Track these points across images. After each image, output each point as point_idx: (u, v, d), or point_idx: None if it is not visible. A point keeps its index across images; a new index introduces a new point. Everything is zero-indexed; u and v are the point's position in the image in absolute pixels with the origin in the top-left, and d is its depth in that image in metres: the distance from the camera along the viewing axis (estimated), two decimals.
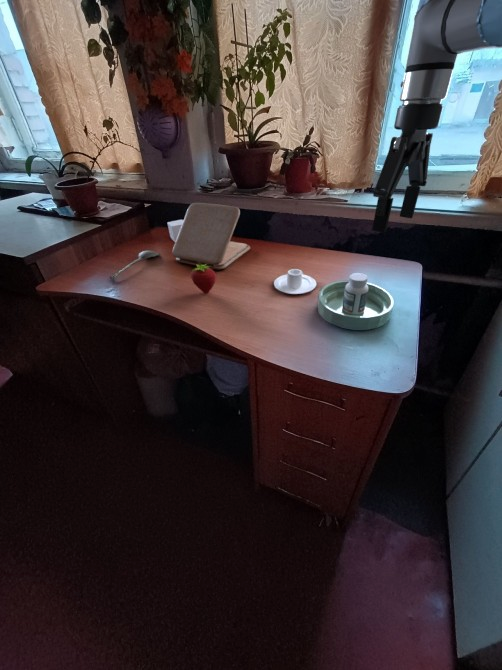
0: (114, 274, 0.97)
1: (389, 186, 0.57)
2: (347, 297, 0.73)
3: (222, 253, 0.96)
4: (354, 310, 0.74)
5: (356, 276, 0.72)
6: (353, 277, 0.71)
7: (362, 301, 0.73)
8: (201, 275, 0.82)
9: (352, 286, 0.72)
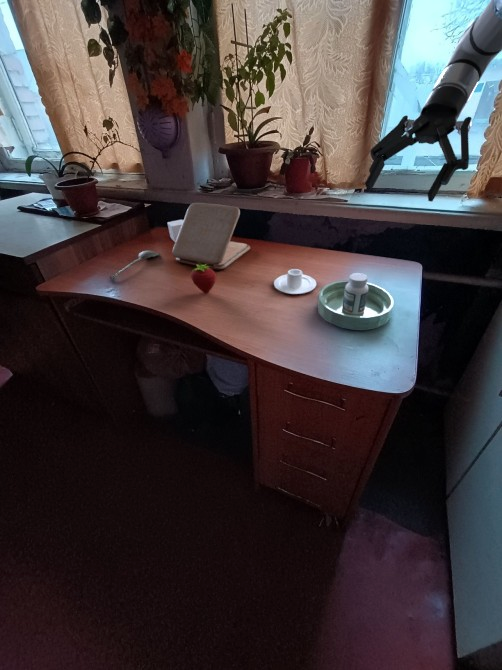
0: (114, 274, 0.97)
1: (376, 146, 0.70)
2: (347, 297, 0.73)
3: (222, 253, 0.96)
4: (354, 310, 0.74)
5: (356, 276, 0.72)
6: (353, 277, 0.71)
7: (362, 301, 0.73)
8: (201, 275, 0.82)
9: (352, 286, 0.72)
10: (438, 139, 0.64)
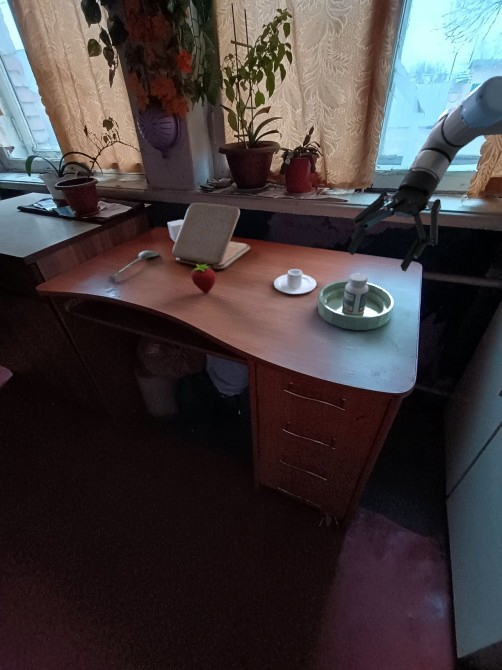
0: (114, 274, 0.97)
1: (358, 215, 0.78)
2: (347, 297, 0.73)
3: (222, 253, 0.96)
4: (354, 310, 0.74)
5: (356, 276, 0.72)
6: (353, 277, 0.71)
7: (362, 301, 0.73)
8: (201, 275, 0.82)
9: (352, 286, 0.72)
10: (412, 215, 0.71)
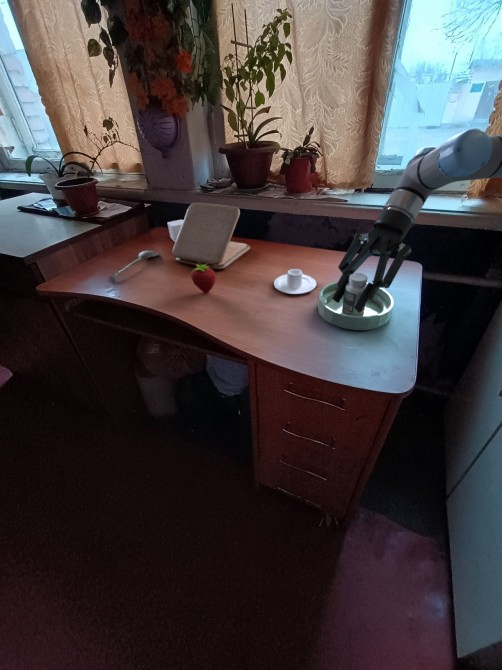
0: (114, 274, 0.97)
1: (342, 262, 0.75)
2: (347, 297, 0.73)
3: (222, 253, 0.96)
4: (354, 310, 0.74)
5: (356, 276, 0.72)
6: (353, 277, 0.71)
7: None
8: (201, 275, 0.82)
9: (352, 286, 0.72)
10: (387, 253, 0.71)
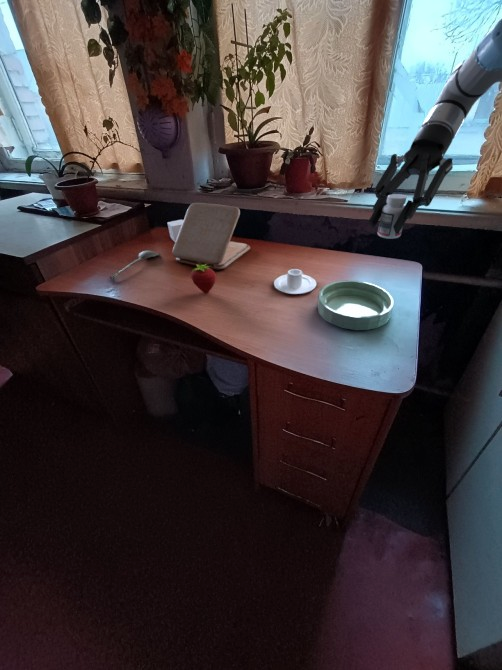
0: (114, 274, 0.97)
1: (378, 185, 0.73)
2: (384, 219, 0.72)
3: (222, 253, 0.96)
4: (391, 233, 0.72)
5: (394, 195, 0.70)
6: (391, 196, 0.69)
7: None
8: (201, 275, 0.82)
9: (390, 206, 0.70)
10: (426, 171, 0.69)
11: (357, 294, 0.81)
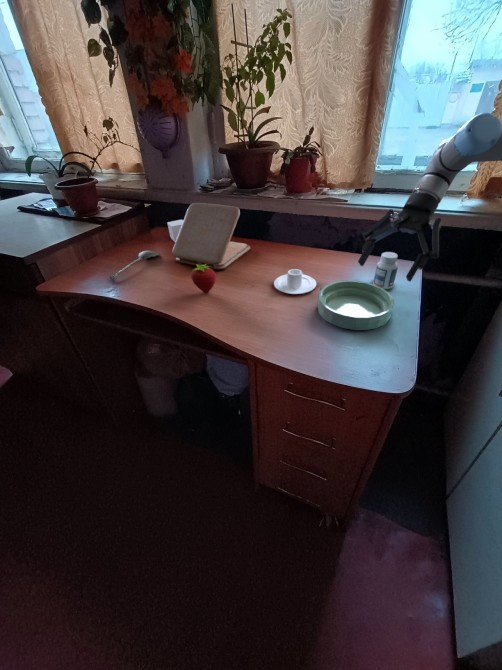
0: (114, 274, 0.97)
1: (367, 231, 0.87)
2: (378, 273, 0.83)
3: (222, 253, 0.96)
4: (384, 285, 0.84)
5: (387, 254, 0.82)
6: (385, 255, 0.81)
7: (392, 276, 0.83)
8: (201, 275, 0.82)
9: (384, 263, 0.82)
10: (416, 231, 0.81)
11: (357, 294, 0.81)
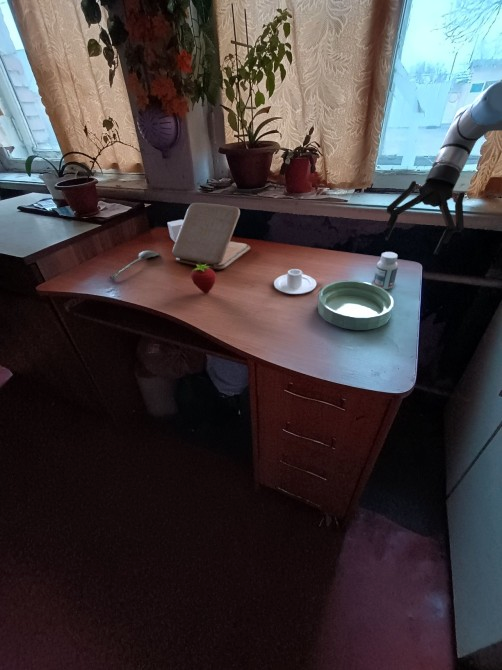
0: (114, 274, 0.97)
1: (391, 204, 0.88)
2: (378, 273, 0.83)
3: (222, 253, 0.96)
4: (384, 285, 0.84)
5: (387, 254, 0.82)
6: (385, 255, 0.81)
7: (392, 276, 0.83)
8: (201, 275, 0.82)
9: (384, 263, 0.82)
10: (439, 205, 0.85)
11: (357, 294, 0.81)
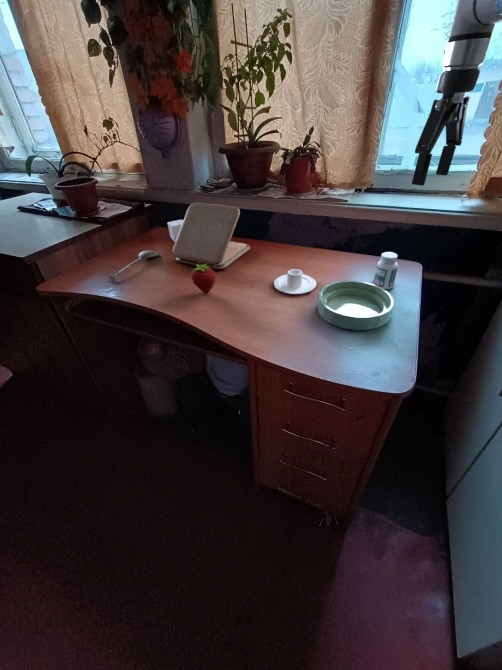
0: (114, 274, 0.97)
1: (429, 142, 0.67)
2: (378, 273, 0.83)
3: (222, 253, 0.96)
4: (384, 285, 0.84)
5: (387, 254, 0.82)
6: (385, 255, 0.81)
7: (392, 276, 0.83)
8: (201, 275, 0.82)
9: (384, 263, 0.82)
10: None
11: (357, 294, 0.81)
